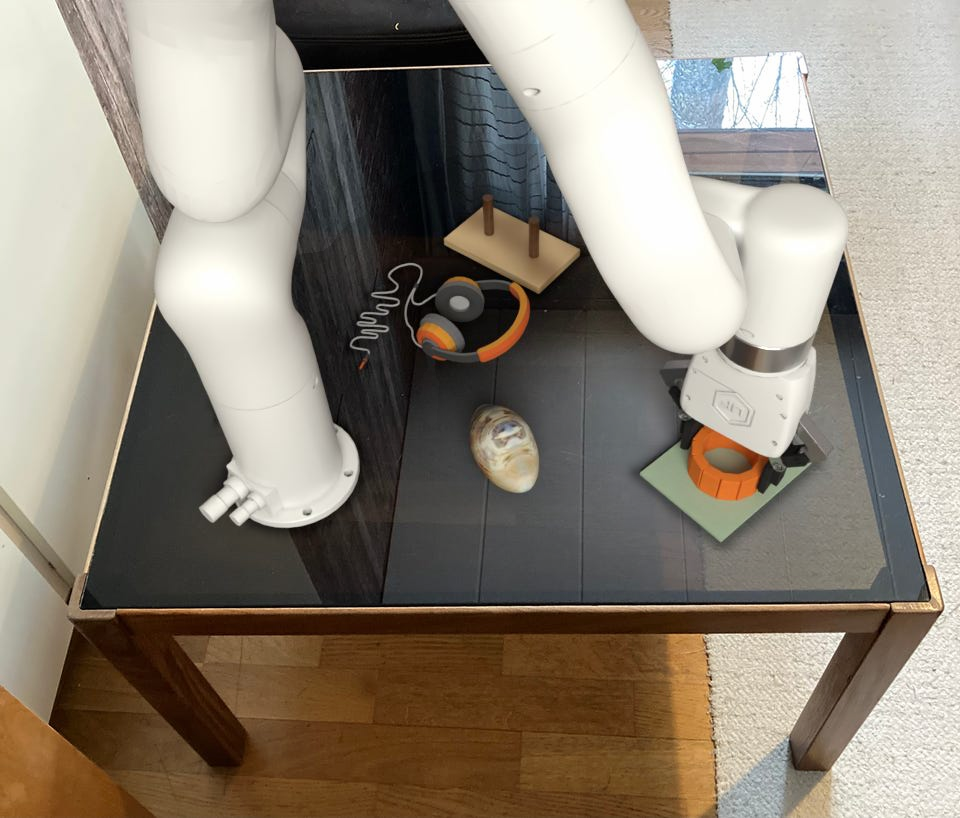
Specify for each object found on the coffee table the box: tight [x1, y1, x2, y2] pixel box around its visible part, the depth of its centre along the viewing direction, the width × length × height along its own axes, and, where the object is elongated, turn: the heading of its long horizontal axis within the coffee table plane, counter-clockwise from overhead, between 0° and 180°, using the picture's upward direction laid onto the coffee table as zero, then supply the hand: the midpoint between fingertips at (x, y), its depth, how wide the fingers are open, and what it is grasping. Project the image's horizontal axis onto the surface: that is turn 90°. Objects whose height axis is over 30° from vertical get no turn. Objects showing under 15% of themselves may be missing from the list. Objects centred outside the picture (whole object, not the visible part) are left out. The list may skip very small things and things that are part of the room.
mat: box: [639, 425, 812, 543], centre depth 89 cm, size 13×10×1 cm
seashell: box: [468, 403, 540, 494], centre depth 87 cm, size 10×6×8 cm, turn 26°
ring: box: [688, 426, 769, 501], centre depth 87 cm, size 7×7×3 cm
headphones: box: [349, 262, 531, 370], centre depth 100 cm, size 17×5×20 cm
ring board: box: [443, 193, 581, 295], centre depth 108 cm, size 8×14×6 cm, turn 51°
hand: (728, 460), depth 88 cm, fingers open, 7 cm apart
